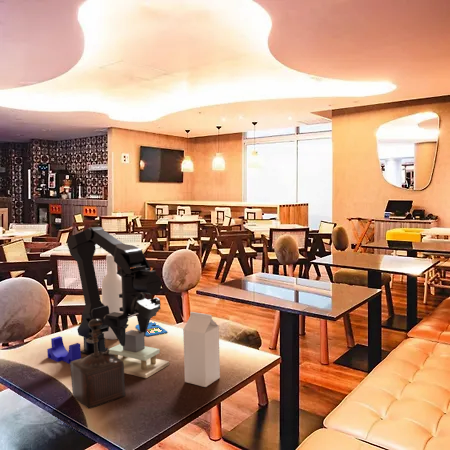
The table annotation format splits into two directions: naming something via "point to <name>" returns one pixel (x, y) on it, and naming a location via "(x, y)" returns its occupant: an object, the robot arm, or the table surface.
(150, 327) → the handheld gaming device
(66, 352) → the cable clip
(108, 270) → the bottle
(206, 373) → the milk carton
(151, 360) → the plate
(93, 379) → the pepper mill
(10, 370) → the table surface
